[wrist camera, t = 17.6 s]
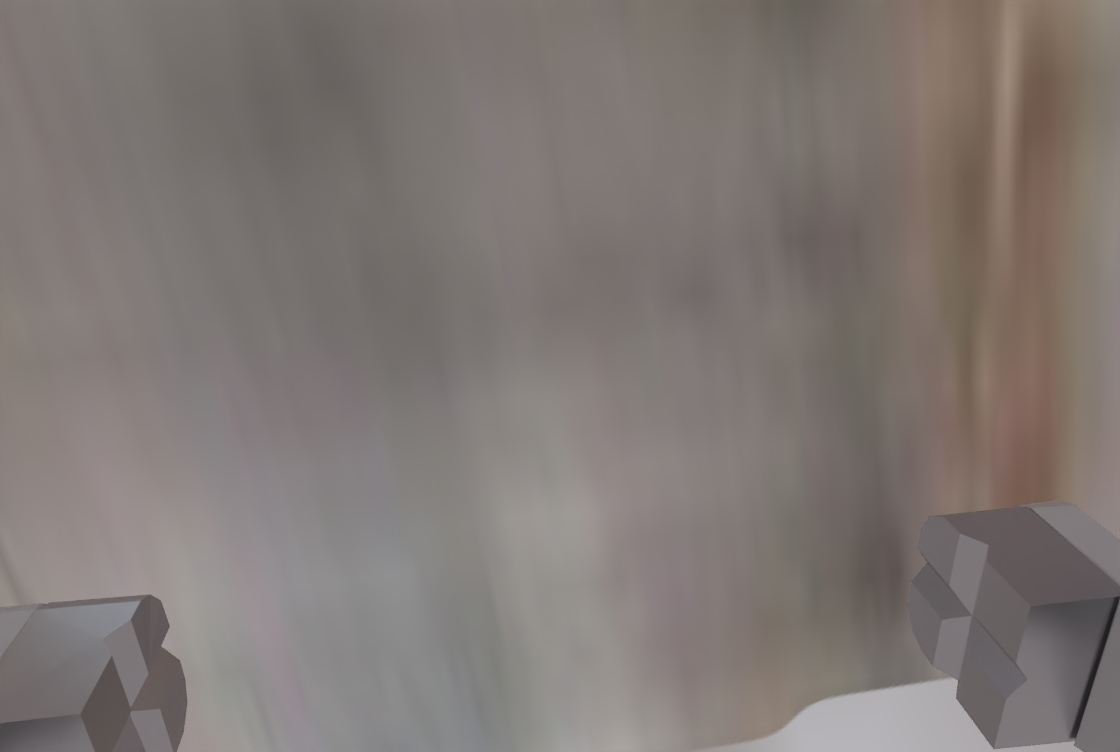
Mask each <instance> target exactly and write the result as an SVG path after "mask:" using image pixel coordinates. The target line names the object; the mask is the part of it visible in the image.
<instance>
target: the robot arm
mask: <svg viewBox="0 0 1120 752" xmlns="http://www.w3.org/2000/svg"><path fill="white" fill-rule="evenodd" d="M917 548H918V550H919V551H920V553H921V554H922V556H923V557H924V558H925V560H926V561H927V564H926V565H925V566H924V567H923V568H922V569H921V571H920V572H919V573H918V574H917V575H916V576H915V577H914V578H913V580H912V581H911V587H910V595H909V602H908V608H909V614H910V620H911V625H912V630H913V633H914V635H915V637H916V640H917V642H918V644H919V646H920V649H921V650H922V651H923V653H924V654H925V656H926V657H927V659H928V660H929V661H930V663H931V664H932V666H933V667H935V668H937V669H939V670H940V671H942V672H944V673H946V674H948V675H949V676H951V677H953V678H955V679H957V680H958V686H957V695H956V699H957V700H958V701H959V703H960V704H961V705H962V707H963V708H964V710H965V711H966V712H967V713H968V715H969V716H970V718H971V719H972V720H973V722H974V723H975V724H976V726H977V727H978V728H979V730H980V731H981V732H982V734H983V735H984V737H985V738H986V739H987V741H988V742H989V743H990V745H991V746H992V747H993V749H1000V748H1010V747H1020V746H1030V745H1040V744H1050V743H1060V742H1070V741H1075V743H1074V746H1076V747H1077V748H1079V749H1081V750H1082V751H1083V752H1120V540H1119V539H1118V538H1116V537H1115V536H1114V535H1113V534H1111V533H1110V532H1109V531H1108V530H1106V529H1105V528H1104V527H1103V526H1101V525H1100V524H1099V523H1097V522H1096V521H1095V520H1094V519H1092V518H1091V517H1090V516H1089V515H1087V514H1086V513H1085V512H1084V511H1082V510H1081V509H1080V508H1078V507H1077V506H1076V505H1074V504H1071V503H1068V502H1064V501H1061V500H1056V501H1048V502H1041V503H1033V504H1025V505H1018V506H1015V507H1014V508H1005V509H996V510H986V511H977V512H967V513H958V514H948V515H939V516H929V517H928V518H927V520H926V522H925V523H924V525H923V526H922V528H921V531H920V536H919V542H918V547H917ZM169 627H170V626H169V623H168V620H167V617H166V614H165V611H164V608H163V605H162V603H161V600H159V599H157V598H156V597H154V596H152V595H138V596H126V597H113V598H101V599H88V600H76V601H63V602H51V603H48V604H31V605H21V606H10V607H0V752H177V749H178V747H179V744H180V741H181V738H182V735H183V732H184V725H185V717H186V708H187V694H186V683H185V677H184V673H183V670H182V666H181V663H180V660H179V659H177V658H176V657H175V656H173V655H172V654H171V653H169V652H168V651H167V650H165V649H164V648H162V647H161V645H162V643H163V640H164V638H165V636H166V634H167V631H168V629H169Z"/></svg>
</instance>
